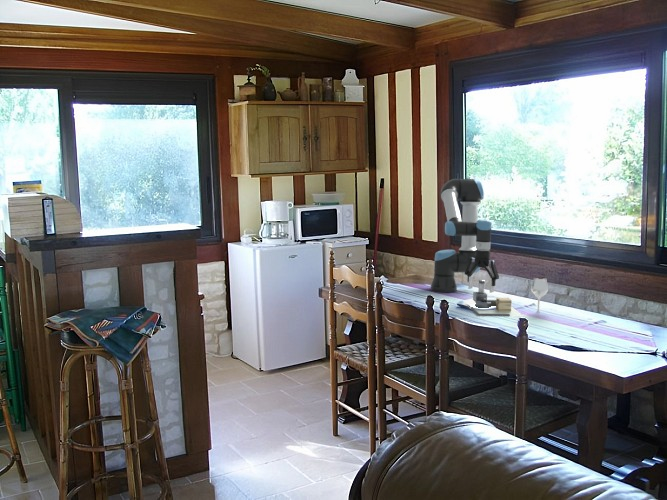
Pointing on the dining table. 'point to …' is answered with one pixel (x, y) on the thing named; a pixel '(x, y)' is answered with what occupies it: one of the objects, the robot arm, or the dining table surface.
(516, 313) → the deck
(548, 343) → the dining table surface
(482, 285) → the crank pin
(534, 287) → the wineglass
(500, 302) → the crate
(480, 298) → the crank wheel
